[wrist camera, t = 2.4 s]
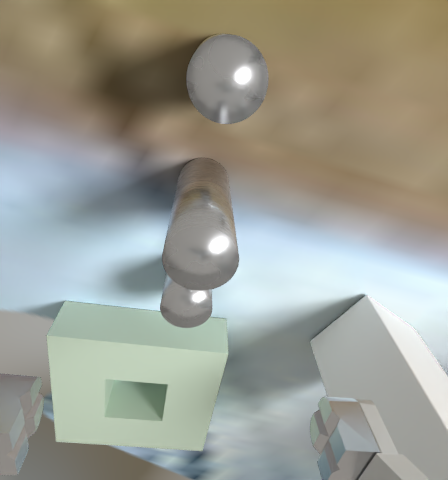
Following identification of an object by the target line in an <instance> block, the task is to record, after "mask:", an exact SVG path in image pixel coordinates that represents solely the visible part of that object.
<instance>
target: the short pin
mask: <svg viewBox="0 0 448 480" xmlns="http://www.w3.org/2000/svg"><path fill="white" fill-rule="evenodd" d="M160 310H161V314H162V316H163V317H164V319H165V320H166V321H167V322H169V323H170V324H172V325H174V326H177V327H181V328H192V327H197V326H199V325H201V324H203V323H205V322H206V321H207V320H208V319H209V317H210V315H211V313H212V289H210V290H201V291H199V290H191V289H188V288H185V287H182V286H180V285H178V284H177V283H175V282H174V281H173V280H172V279H171V278H170V277H169V276H168V275H167V273H166V277H165V282H164V288H163V294H162V299H161V305H160Z"/></svg>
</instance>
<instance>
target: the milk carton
mask: <svg viewBox="0 0 448 480" xmlns="http://www.w3.org/2000/svg"><path fill="white" fill-rule="evenodd" d="M310 344H311V347H312V350H313V353H314V356H315V359H316V363H317V366H318V369H319V372H320V375H321V378H322V381H323V384H324V387H325V390H326V393H327V396H328V397H337V398H353V399H364V400H371V401H372V402H373V403H374V404H375V406H376V408H377V410H378V412H379V414H380V416H381V418H382V420H383V423H384V425H385V427H386V429H387V431H388V433H389V435H390V437H391V439H392V442H393V444H394V446H395V448H396V450H397V452H398V454H403V455H404V456H405V457H406V458H407V459H408V460H409V461H410V462H412V463H413V464H414V465H415V466H416V467H417V468H418V469H419V470H420V471H421V472H422V473H423V474H424V475H425V476H426V477H427V478H428V479H429V480H448V376H447V374H446V373H445V372H444V370H443V369H442V367H441V366H440V364H439V363H438V361H437V360H436V359H435V357H434V356H433V354H432V353H431V351H430V350H429V348H428V347H427V346H426V344H425V343H424V341H423V340H422V338H421V337H420V335H419V334H418V333H417V331H416V330H415V329H414V328H413V327H412V326H411V325H409V324H408V323H406V322H405V321H404V320H402V319H401V318H399V317H398V316H397V315H395V314H394V313H392V312H391V311H390V310H388V309H387V308H386V307H384V306H383V305H381V304H380V303H379V302H377V301H376V300H374V299H373V298H372V297H370V296H368V295H366V296H364V297H363V298H362V299H361V300H359V301H358V302H357V303H356V304H355V305H353V306H352V307H351V308H350V309H348V310H347V311H346V312H345V313H344V314H342V315H341V316H340V317H339V318H337V319H336V320H335V321H334V322H333V323H331V324H330V325H329V326H328V327H327V328H325V329H324V330H323V331H322V332H320V333H319V334H318V335H317V336H316V337H314V338H313V339H312V340H311V341H310Z"/></svg>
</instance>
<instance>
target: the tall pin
mask: <svg viewBox="0 0 448 480" xmlns="http://www.w3.org/2000/svg"><path fill="white" fill-rule="evenodd" d="M162 262H163V266H164V269H165V271H166V273H167V275H168V276H169V277H170V278H171V279H172V280H173V281H174V282H175V283H177V284H178V285H180V286H182V287H185V288H188V289H191V290H199V291H201V290H210V289H214V288H217V287H219V286H221V285H223V284H225V283H226V282H227V281H229V280H230V279H231V278H232V277H233V275H234V274H235V272H236V270H237V267H238V263H239V254H238V246H237V239H236V231H235V224H234V216H233V209H232V201H231V194H230V186H229V179H228V175H227V172H226V170H225V169H224V167H223V166H222V165H221V164H220V163H218V162H217V161H215V160H212V159H209V158H197V159H194V160H191V161H190V162H188V163H187V164H186V165H185V166H184V167H183V168H182V169H181V171H180V174H179V178H178V182H177V187H176V192H175V197H174V201H173V206H172V211H171V216H170V221H169V225H168V230H167V235H166V240H165V245H164V249H163V254H162Z"/></svg>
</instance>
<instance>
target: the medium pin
mask: <svg viewBox="0 0 448 480" xmlns="http://www.w3.org/2000/svg"><path fill="white" fill-rule="evenodd" d="M186 81H187V90H188V93H189V97H190V99H191V101H192V103H193V105H194V106H195V107H196V109H197V110H198V111H199V112H200V113H201V114H202V115H203V116H205V117H206V118H208V119H209V120H212V121H214V122H217V123H222V124H232V123H237V122H240V121H242V120H245V119H246V118H248V117H250V116H251V115H252V114H253V113H254V112H255V111H256V110H257V109H258V108H259V107H260V105H261V103H262V102H263V100H264V98H265V95H266V92H267V88H268V70H267V66H266V63H265V60H264V58H263V56H262V54H261V53H260V51H259V50H258V49H257V47H256V46H255V45H253V44H252V43H251V42H250V41H248V40H247V39H245V38H242V37H240V36H236V35H230V34H216V35H213V36H210V37H208V38H207V39H205V40H204V41H203V42H202V43H201V44H200V45H199V47H198V48H197V50H196V51H195V53H194V54H193V56H192V58H191V60H190V62H189V66H188V70H187V78H186Z"/></svg>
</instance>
